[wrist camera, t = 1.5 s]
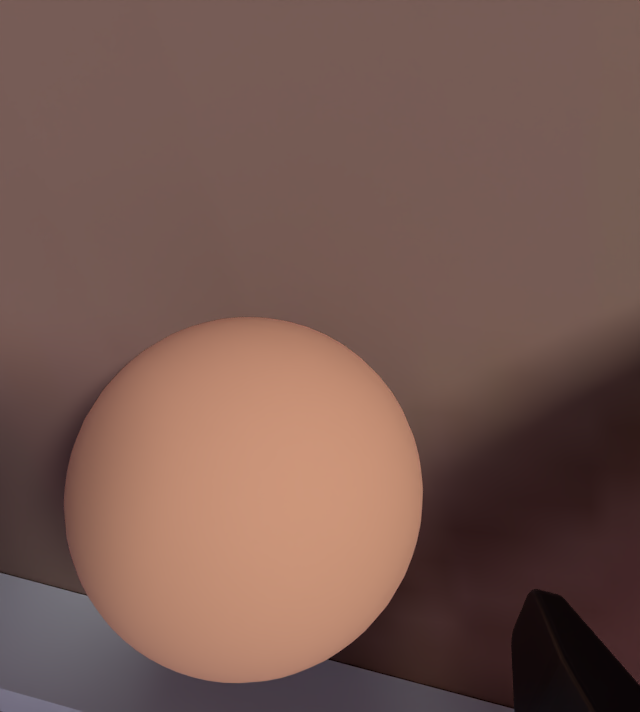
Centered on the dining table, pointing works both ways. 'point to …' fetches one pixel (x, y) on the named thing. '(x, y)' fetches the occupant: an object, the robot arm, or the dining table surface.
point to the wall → (166, 671)
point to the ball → (243, 500)
